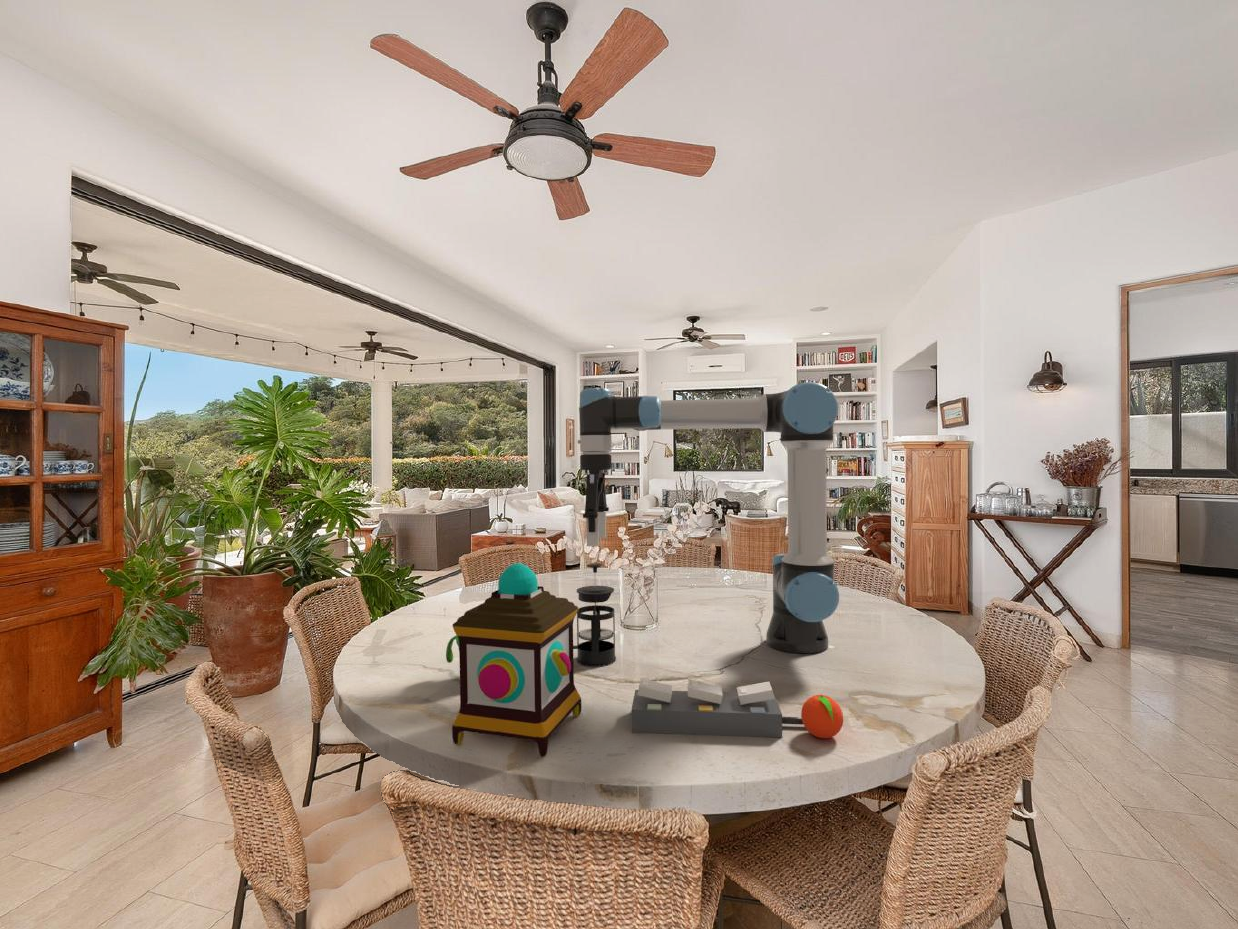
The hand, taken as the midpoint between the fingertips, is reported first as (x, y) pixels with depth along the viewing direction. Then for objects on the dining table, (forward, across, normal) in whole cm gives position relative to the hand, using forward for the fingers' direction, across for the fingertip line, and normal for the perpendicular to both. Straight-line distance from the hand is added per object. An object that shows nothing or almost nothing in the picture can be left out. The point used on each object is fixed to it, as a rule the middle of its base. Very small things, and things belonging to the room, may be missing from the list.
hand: (596, 542), depth 145 cm
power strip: (+28, +34, +27) cm, 52 cm away
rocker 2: (+22, +34, +24) cm, 47 cm away
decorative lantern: (+28, +39, -9) cm, 49 cm away
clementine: (+28, +38, +44) cm, 65 cm away
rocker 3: (+22, +34, +33) cm, 52 cm away
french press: (+28, +2, -1) cm, 28 cm away
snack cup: (+28, +16, -24) cm, 40 cm away
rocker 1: (+22, +34, +15) cm, 43 cm away
